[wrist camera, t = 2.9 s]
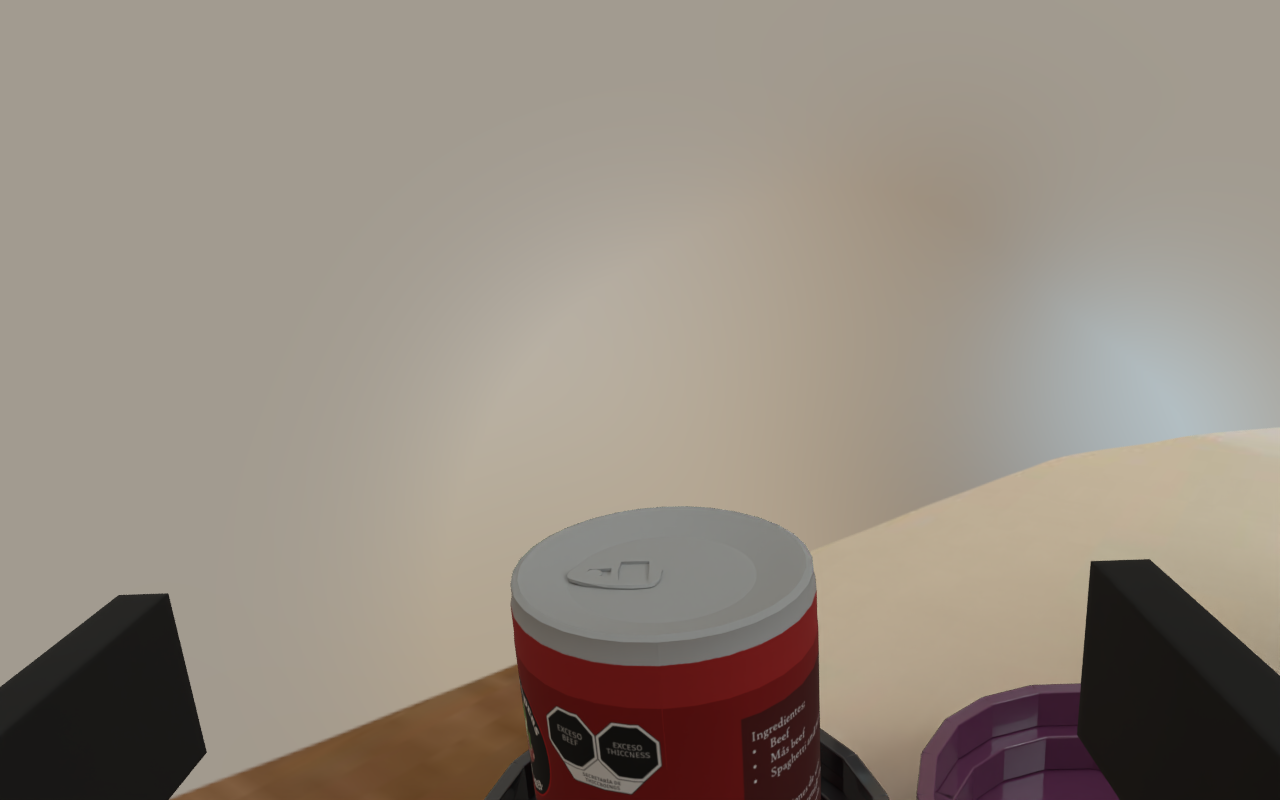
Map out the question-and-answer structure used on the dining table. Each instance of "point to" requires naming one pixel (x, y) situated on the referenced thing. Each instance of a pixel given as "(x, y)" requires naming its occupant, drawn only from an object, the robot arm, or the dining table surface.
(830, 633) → the dining table surface
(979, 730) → the plum bowl
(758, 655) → the canned food
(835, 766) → the dark bowl
